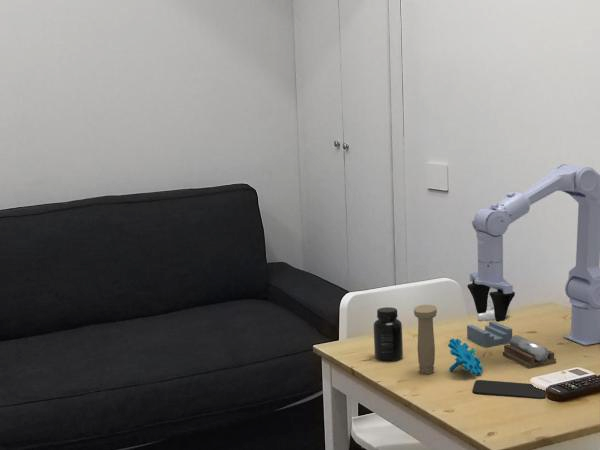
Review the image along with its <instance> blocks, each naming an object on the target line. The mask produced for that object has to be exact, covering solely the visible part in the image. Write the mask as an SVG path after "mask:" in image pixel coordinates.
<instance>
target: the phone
mask: <svg viewBox="0 0 600 450" xmlns="http://www.w3.org/2000/svg"><path fill="white" fill-rule="evenodd" d="M532 384H533V383H526V382H525V383H523V382H511V381H501V380H500V381H498V380H487V379H486V380H484V379H477V380H475V381H474V383H473V386H472V390H471V392H472V394H475V395H479V396H490V397H491V396H493V397H506V398H507V397H508V398H519V399H520V398H521V399H533V400H543V399H544V400H545V399H546V398H547V391H545V390H542V389H539V388H536V387H534V386H533V385H532Z"/></svg>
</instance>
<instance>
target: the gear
mask: <svg viewBox="0 0 600 450" xmlns="http://www.w3.org/2000/svg"><path fill="white" fill-rule="evenodd" d="M461 343H462V340H461V339H459V338H456V339H455V338H451V339H449V343H448V344H447V346H448V348H450V350H449V353H450V355H452V356H454V357H456V358H454V360H455V362H454V363H453V364H452V365H451V366H450V367H449V368H448V370H449V371H450V372H454V371H455V370H456V369H457V368H458V367H459V366H462V369H463V370H464V371H465V372H468V371H469V373H470V374H471V375H472V376H476V375H477V376H480V375H482V374H483V372H482V371H483V369H484V367H483V366H482V365H481V363H482V361H481V358H478V357H476V354H477V353H476V349H475V348H473V347H472V348H470V350H469V349H468V348H469V345H468V343H466V342H463V344H461Z"/></svg>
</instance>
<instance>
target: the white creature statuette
mask: <svg viewBox="0 0 600 450" xmlns="http://www.w3.org/2000/svg"><path fill="white" fill-rule="evenodd" d="M496 291H497V289H494V288H491V287H490V290H489V294H488V300H487V310H486V313H480V314H478V313H477V320H478V321H479V322H483V321H484V322H486V321H496V320H495V313H494V305H493V301H492V298H491V296H490V292H496ZM510 310H511V308H510V306H509V307H508V310H507V314H506V317H507V316H509V314H510Z"/></svg>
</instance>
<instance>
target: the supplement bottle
mask: <svg viewBox="0 0 600 450" xmlns="http://www.w3.org/2000/svg"><path fill="white" fill-rule="evenodd" d="M398 315H399V314H398V309H397V308H395V307H391V306H390V307H389V306H388V307H387V306H385V307H379V308H377V311H376V318H377V319H376V320H375V322H373V340H374V341H373V345H374V348H373V349H374V357H375V359H376V360H378V361H380V362H397V361H399V360H401V359H402V358H403V356H404V348H403V347H404V345H403V344H404V343H403V341H404V340H403V325H402V322H401V320H400V319H398Z"/></svg>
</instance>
